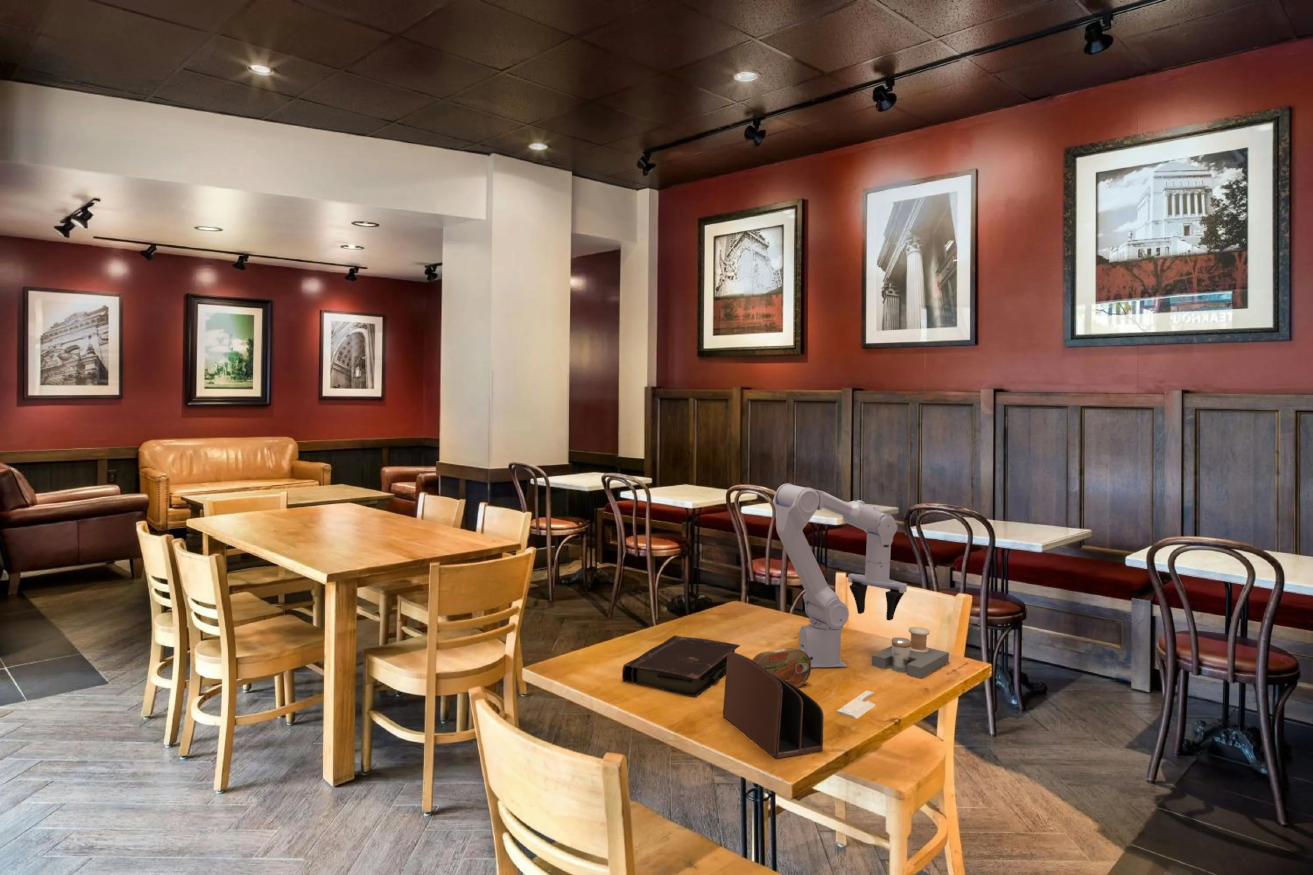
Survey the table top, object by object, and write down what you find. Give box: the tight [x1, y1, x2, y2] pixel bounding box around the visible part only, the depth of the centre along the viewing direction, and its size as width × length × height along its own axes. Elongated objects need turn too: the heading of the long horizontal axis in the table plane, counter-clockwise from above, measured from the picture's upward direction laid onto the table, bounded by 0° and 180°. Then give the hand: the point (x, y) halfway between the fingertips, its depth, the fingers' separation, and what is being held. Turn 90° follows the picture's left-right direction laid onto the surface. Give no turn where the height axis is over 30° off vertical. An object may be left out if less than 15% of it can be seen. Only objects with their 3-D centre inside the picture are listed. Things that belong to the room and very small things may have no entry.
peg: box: [890, 636, 911, 673], centre depth 189 cm, size 4×4×7 cm
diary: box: [621, 635, 741, 697], centre depth 183 cm, size 19×25×5 cm
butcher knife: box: [836, 690, 876, 720], centre depth 166 cm, size 5×15×1 cm, turn 142°
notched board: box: [871, 626, 950, 679], centre depth 193 cm, size 16×12×8 cm
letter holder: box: [722, 651, 824, 760], centre depth 151 cm, size 10×20×14 cm, turn 23°
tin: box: [752, 647, 812, 689], centre depth 175 cm, size 15×3×8 cm, turn 118°
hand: (875, 616), depth 198 cm, fingers open, 7 cm apart
